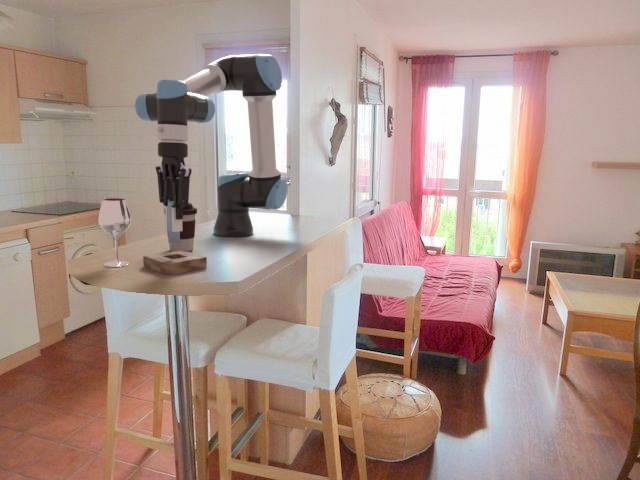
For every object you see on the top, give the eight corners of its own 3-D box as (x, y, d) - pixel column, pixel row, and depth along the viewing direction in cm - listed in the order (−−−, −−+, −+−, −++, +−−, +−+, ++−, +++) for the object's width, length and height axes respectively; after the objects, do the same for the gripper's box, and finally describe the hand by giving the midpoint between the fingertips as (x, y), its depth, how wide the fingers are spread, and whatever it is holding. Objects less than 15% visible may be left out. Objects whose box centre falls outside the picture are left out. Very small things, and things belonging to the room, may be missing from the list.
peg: (175, 240, 133) (175, 201, 131) (182, 242, 131) (181, 202, 129) (166, 241, 131) (165, 201, 129) (172, 243, 129) (171, 202, 127)
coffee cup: (188, 254, 149) (187, 206, 146) (159, 251, 150) (158, 204, 148) (202, 248, 158) (202, 202, 155) (174, 246, 160) (173, 201, 157)
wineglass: (106, 260, 137) (103, 197, 133) (136, 261, 137) (134, 198, 134) (96, 267, 129) (92, 200, 125) (127, 268, 129) (125, 201, 126)
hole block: (181, 260, 141) (181, 250, 140) (206, 267, 133) (206, 257, 132) (143, 266, 132) (143, 256, 131) (168, 275, 124) (167, 263, 123)
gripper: (143, 140, 128) (146, 228, 132) (177, 141, 118) (178, 235, 122) (168, 142, 134) (170, 225, 138) (202, 143, 124) (202, 233, 128)
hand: (174, 230), depth 130 cm, fingers closed on peg, 2 cm apart
